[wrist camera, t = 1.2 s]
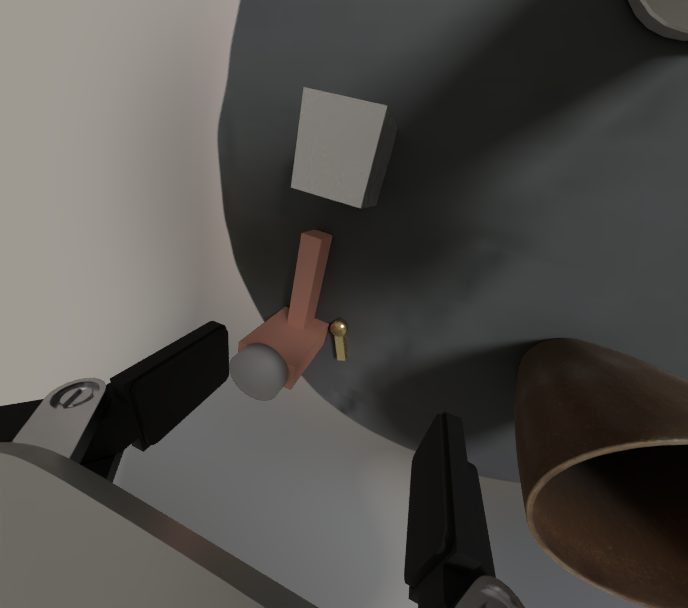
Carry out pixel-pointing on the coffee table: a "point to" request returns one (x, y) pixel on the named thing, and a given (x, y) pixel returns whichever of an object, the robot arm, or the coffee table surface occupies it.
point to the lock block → (342, 148)
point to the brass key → (340, 338)
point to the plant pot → (606, 468)
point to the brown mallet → (286, 329)
